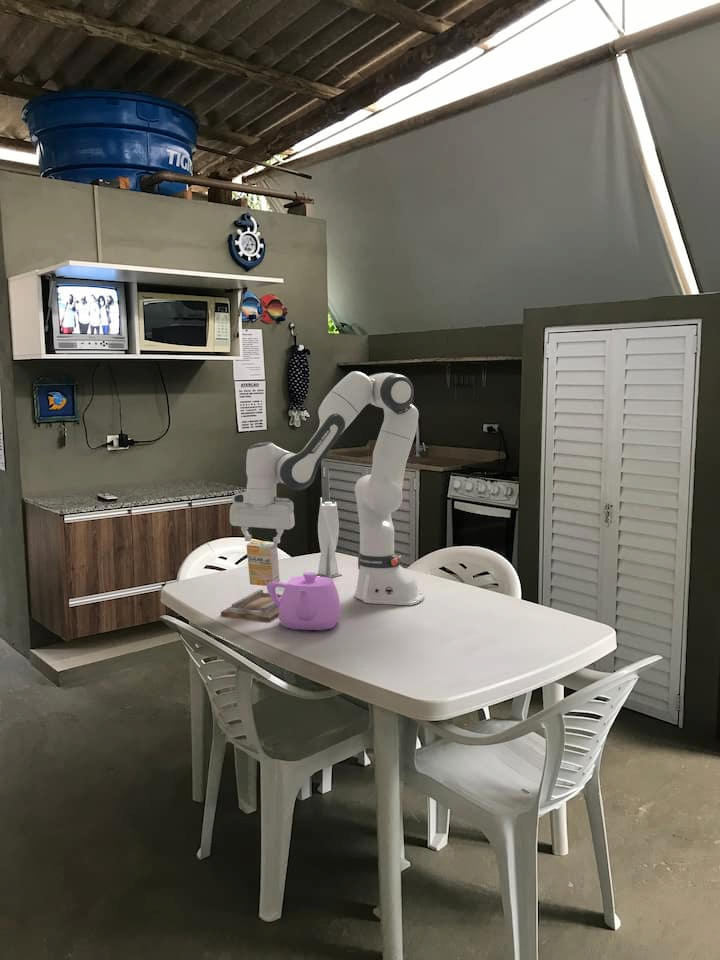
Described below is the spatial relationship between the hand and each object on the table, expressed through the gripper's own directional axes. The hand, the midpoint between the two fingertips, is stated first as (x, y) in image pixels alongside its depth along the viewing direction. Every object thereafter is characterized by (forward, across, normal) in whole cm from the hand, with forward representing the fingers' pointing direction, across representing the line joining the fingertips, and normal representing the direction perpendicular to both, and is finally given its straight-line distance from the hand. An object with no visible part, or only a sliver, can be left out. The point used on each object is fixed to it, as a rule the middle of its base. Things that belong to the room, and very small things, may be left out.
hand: (262, 542), depth 232 cm
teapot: (+21, -20, +10) cm, 31 cm away
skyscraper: (+21, -3, -46) cm, 50 cm away
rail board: (+21, 0, 0) cm, 21 cm away
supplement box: (+13, 0, -2) cm, 13 cm away
